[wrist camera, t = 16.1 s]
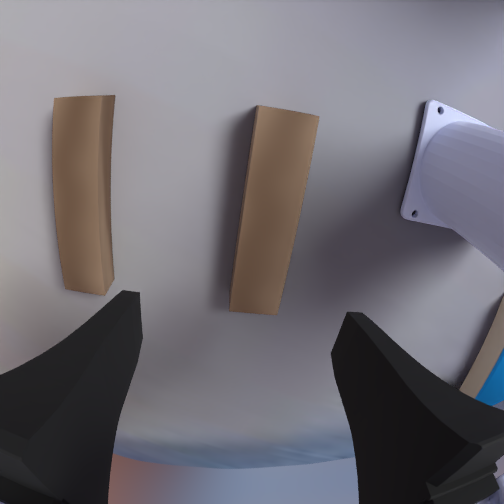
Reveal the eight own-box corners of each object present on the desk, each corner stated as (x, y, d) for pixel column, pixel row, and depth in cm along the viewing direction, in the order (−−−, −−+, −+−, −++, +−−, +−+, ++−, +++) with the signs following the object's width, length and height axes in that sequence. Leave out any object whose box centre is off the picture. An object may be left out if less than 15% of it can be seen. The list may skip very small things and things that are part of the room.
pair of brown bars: (310, 114, 16) (319, 116, 15) (273, 297, 22) (277, 315, 20) (70, 96, 15) (53, 98, 13) (76, 273, 20) (65, 288, 18)
